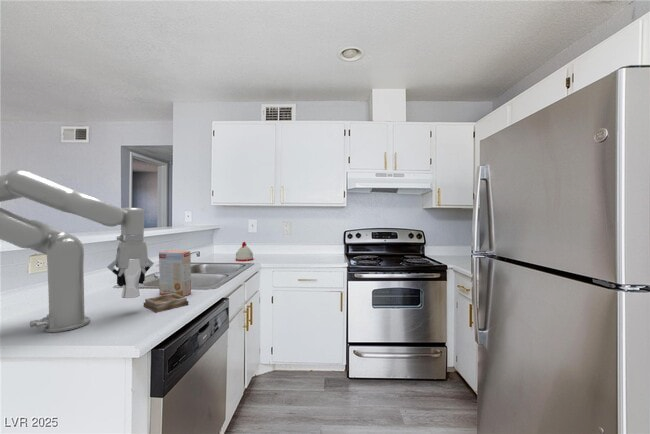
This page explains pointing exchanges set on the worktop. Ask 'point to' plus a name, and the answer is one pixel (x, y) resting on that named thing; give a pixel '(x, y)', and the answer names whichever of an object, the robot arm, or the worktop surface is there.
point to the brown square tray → (165, 302)
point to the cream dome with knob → (244, 253)
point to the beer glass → (131, 279)
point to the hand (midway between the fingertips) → (131, 284)
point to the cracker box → (175, 272)
